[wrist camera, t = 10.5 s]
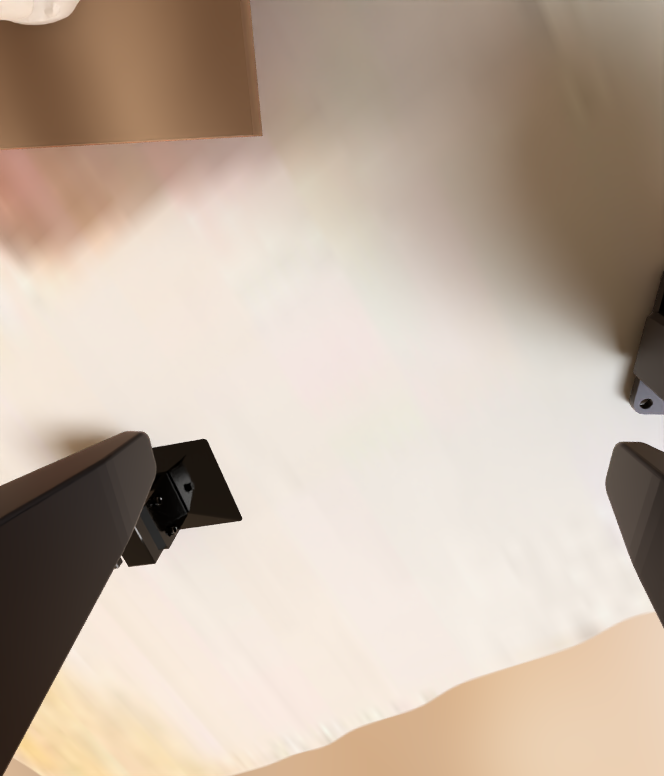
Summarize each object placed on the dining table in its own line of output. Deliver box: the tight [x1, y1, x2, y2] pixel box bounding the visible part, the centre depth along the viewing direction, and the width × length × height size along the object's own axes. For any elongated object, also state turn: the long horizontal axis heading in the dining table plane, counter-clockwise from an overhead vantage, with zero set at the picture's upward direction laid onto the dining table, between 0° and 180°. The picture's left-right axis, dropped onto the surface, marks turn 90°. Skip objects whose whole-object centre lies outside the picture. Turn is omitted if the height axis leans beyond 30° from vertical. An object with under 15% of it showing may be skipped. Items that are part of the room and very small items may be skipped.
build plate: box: [114, 439, 242, 569], centre depth 25 cm, size 12×7×5 cm, turn 105°
